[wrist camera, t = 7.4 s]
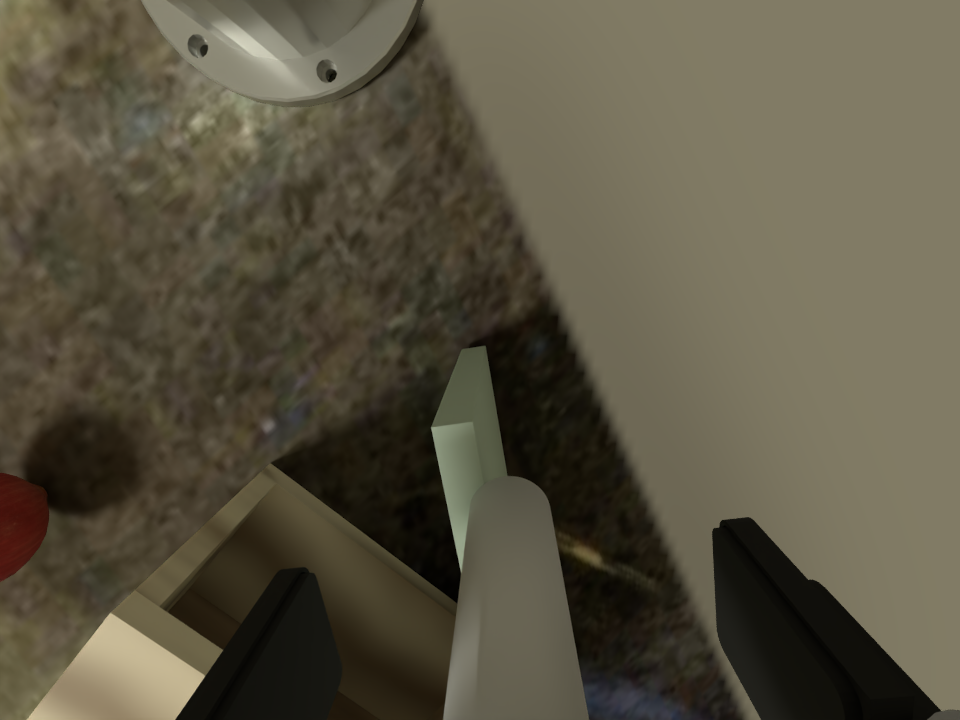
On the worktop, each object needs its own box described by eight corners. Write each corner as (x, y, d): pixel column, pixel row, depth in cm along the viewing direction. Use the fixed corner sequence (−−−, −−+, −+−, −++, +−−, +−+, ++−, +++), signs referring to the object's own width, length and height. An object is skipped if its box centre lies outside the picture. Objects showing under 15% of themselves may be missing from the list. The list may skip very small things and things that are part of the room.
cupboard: (270, 463, 25) (110, 612, 15) (514, 646, 27) (522, 886, 17) (178, 576, 27) (-17, 775, 17) (411, 738, 29) (363, 999, 19)
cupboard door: (521, 340, 22) (591, 679, 5) (566, 638, 26) (688, 1394, 9) (461, 349, 23) (322, 703, 5) (515, 643, 27) (538, 1387, 9)
